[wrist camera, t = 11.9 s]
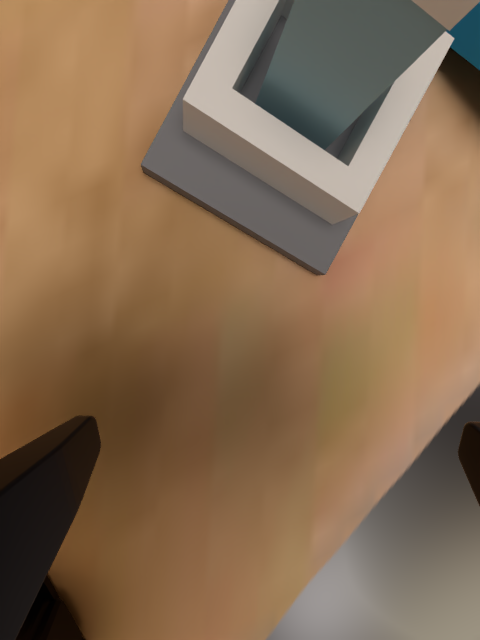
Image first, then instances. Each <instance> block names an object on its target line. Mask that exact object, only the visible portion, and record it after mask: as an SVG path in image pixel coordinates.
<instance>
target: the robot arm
mask: <svg viewBox="0 0 480 640" xmlns="http://www.w3.org/2000/svg"><path fill="white" fill-rule="evenodd" d="M100 448H101V441H100V436H99V432H98V427H97V422H96V419H95V418H94V417H93V416H76V417H74V418H72V419H70V420H69V421H67V422H65V423H63V424H62V425H60V426H58V427H56V428H54V429H53V430H51V431H49V432H47V433H46V434H44V435H42V436H40V437H39V438H37V439H35V440H33V441H31V442H30V443H28V444H26V445H24V446H23V447H21V448H19V449H17V450H16V451H14V452H12V453H10V454H9V455H7V456H5V457H3V458H1V459H0V640H84V639H83V637H82V634H81V632H80V630H79V628H78V627H77V625H76V623H75V621H74V620H73V618H72V616H71V615H70V613H69V611H68V609H67V608H66V606H65V604H64V603H63V601H62V600H60V598H59V596H58V595H57V593H56V591H55V589H54V588H53V586H52V584H51V583H50V581H49V579H48V577H47V576H46V575H47V573H48V571H49V569H50V567H51V565H52V563H53V561H54V559H55V557H56V555H57V553H58V551H59V549H60V546H61V544H62V542H63V540H64V538H65V536H66V534H67V532H68V530H69V528H70V526H71V524H72V522H73V520H74V518H75V515H76V513H77V511H78V509H79V506H80V504H81V501H82V499H83V496H84V493H85V490H86V488H87V485H88V482H89V479H90V477H91V474H92V471H93V469H94V466H95V463H96V460H97V458H98V455H99V452H100ZM458 456H459V460H460V462H461V465H462V467H463V469H464V471H465V474H466V476H467V478H468V481H469V483H470V485H471V488H472V490H473V492H474V494H475V497H476V499H477V501H478V503H479V506H480V422H468V423H466V424H465V426H464V429H463V432H462V436H461V440H460V445H459V449H458Z"/></svg>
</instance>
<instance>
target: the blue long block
mask: <svg viewBox="0 0 480 640" xmlns="http://www.w3.org/2000/svg"><path fill="white" fill-rule="evenodd" d="M446 32H447V33H448V34H450V35H451V36H452V37H453V38H454V40H453V42H452V44H451V46H450V48H452V49H453V50H454V51H456V52H457V53H458V54H459V55H461V56H462V57H463V58H465V59H466V60H467V61H468V62H470V63H471V64H472V65H473V66H475V67H476V68H477V69H479V70H480V2H479V3H478V4H477V5H476V6H475V7H474V8H473V9H472V10H471V11H469V12H468V13H467V14H466V15H465V16H464V17H463V18H462V19H461V20H460V21H459V22H458V23H457V24H456V25H455V26H454V27H453V28H452V29H451V30H450V31H449V30H446Z"/></svg>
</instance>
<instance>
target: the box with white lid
mask: <svg viewBox="0 0 480 640" xmlns="http://www.w3.org/2000/svg"><path fill="white" fill-rule="evenodd" d="M479 2H480V0H294V3H293V6H292V8H291V11H290V13H289V16H288V19H287V21H286V24H285V27H284V29H283V32H282V34H281V37H280V40H279V42H278V45H277V48H276V50H275V53H274V55H273V58H272V61H271V63H270V66H269V69H268V71H267V74H266V76H265V79H264V82H263V84H262V87H261V89H260V92H259V95H258V97H257V100H256V103H255V104H256V105H258V106H259V107H261V108H262V109H264V110H265V111H267V112H268V113H270V114H271V115H273V116H274V117H276V118H277V119H279V120H280V121H282V122H283V123H285V124H286V125H287V126H289V127H290V128H292V129H293V130H295V131H296V132H298V133H299V134H301V135H302V136H304V137H305V138H307V139H308V140H310V141H311V142H313V143H314V144H316V145H317V146H319V147H320V148H322V149H323V150H325V149H326V148H327V147H328V146H329V145H330V144H331V143H332V142H333V141H334V140H335V139H336V138H337V137H338V136H339V135H340V134H341V133H342V132H343V131H344V130H345V129H346V128H348V127H349V126H350V125H351V124H352V123H353V122H354V121H355V120H356V119H357V118H358V117H359V116H360V115H361V114H362V113H363V112H364V111H365V110H366V109H367V108H368V107H369V106H370V105H371V104H372V103H373V102H374V101H375V100H376V99H377V98H378V97H379V96H380V95H381V94H382V93H383V92H384V91H385V90H386V89H387V88H388V87H389V86H390V85H391V84H392V83H393V82H394V81H395V80H396V79H397V78H398V77H399V76H401V75H402V74H403V73H404V72H405V71H406V70H407V69H408V68H409V67H410V66H411V65H412V64H413V63H414V62H415V61H416V60H417V59H418V58H419V57H420V56H421V55H422V54H423V53H424V52H425V51H426V50H427V49H428V48H429V47H430V46H431V45H432V44H433V43H434V42H435V41H436V40H437V39H438V38H439V37H440V36H441V35H442V34H443V33H444V32H445V31H446V30H449V31H450V30H451V29H452V28H453V27H454V26H455V25H456V24H457V23H458V22H459V21H460V20H461V19H462V18H463V17H464V16H465V15H466V14H467V13H468V12H469V11H471V10H472V9H473V8H474V7H475V6H476V5H477V4H478V3H479Z"/></svg>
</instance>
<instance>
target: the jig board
mask: <svg viewBox="0 0 480 640" xmlns="http://www.w3.org/2000/svg"><path fill="white" fill-rule="evenodd" d="M293 3H294V0H229V1H228V3H227V4H226V6H225V8H224V10H223V12H222V14H221V16H220V18H219V19H218V21H217V23H216V25H215V27H214V29H213V31H212V32H211V34H210V36H209V38H208V40H207V42H206V44H205V45H204V47H203V49H202V51H201V53H200V55H199V57H198V59H197V60H196V62H195V64H194V66H193V68H192V70H191V72H190V73H189V75H188V77H187V79H186V81H185V83H184V85H183V87H182V88H181V90H180V92H179V94H178V96H177V98H176V100H175V101H174V103H173V105H172V107H171V109H170V111H169V113H168V114H167V116H166V118H165V120H164V122H163V124H162V126H161V128H160V129H159V131H158V133H157V135H156V137H155V139H154V141H153V142H152V144H151V146H150V148H149V150H148V152H147V154H146V155H145V157H144V159H143V161H142V163H141V167H142V170H143V172H144V173H146V174H147V175H149V176H151V177H152V178H154V179H156V180H157V181H159V182H161V183H162V184H164V185H166V186H167V187H169V188H171V189H173V190H174V191H176V192H178V193H179V194H181V195H183V196H184V197H186V198H188V199H189V200H191V201H193V202H194V203H196V204H198V205H200V206H201V207H203V208H205V209H206V210H208V211H210V212H211V213H213V214H215V215H216V216H218V217H220V218H221V219H223V220H225V221H227V222H228V223H230V224H232V225H233V226H235V227H237V228H238V229H240V230H242V231H243V232H245V233H247V234H248V235H250V236H252V237H254V238H255V239H257V240H259V241H260V242H262V243H264V244H265V245H267V246H269V247H270V248H272V249H274V250H275V251H277V252H279V253H281V254H282V255H284V256H286V257H287V258H289V259H291V260H292V261H294V262H296V263H297V264H299V265H301V266H302V267H304V268H306V269H307V270H309V271H311V272H313V273H314V274H316V275H325V274H326V273H327V271H328V269H329V267H330V265H331V263H332V262H333V260H334V258H335V256H336V254H337V252H338V251H339V249H340V247H341V245H342V243H343V241H344V240H345V238H346V236H347V234H348V232H349V230H350V229H351V227H352V225H353V223H354V221H355V219H356V217H357V216H358V214H359V213H360V211H361V209H362V208H363V206H364V204H365V202H366V200H367V198H368V197H369V195H370V193H371V191H372V189H373V187H374V186H375V184H376V182H377V180H378V178H379V176H380V174H381V173H382V171H383V169H384V167H385V165H386V163H387V162H388V160H389V158H390V156H391V154H392V152H393V151H394V149H395V147H396V145H397V143H398V141H399V140H400V138H401V136H402V134H403V132H404V130H405V129H406V127H407V125H408V123H409V121H410V119H411V117H412V116H413V114H414V112H415V110H416V108H417V106H418V105H419V103H420V101H421V99H422V97H423V95H424V94H425V92H426V90H427V88H428V86H429V84H430V83H431V81H432V79H433V77H434V75H435V73H436V72H437V70H438V68H439V66H440V64H441V62H442V60H443V59H444V57H445V55H446V53H447V51H448V49H449V48H450V46H451V44H452V42H453V40H454V38H453V37H452V36H451V35H450V34H448V33H447V32H446V31H445V32H444V33H443V34H442V35H441V36H440V37H439V38H438V39H437V40H436V41H435V42H434V43H433V44H432V45H431V46H430V47H429V48H428V49H427V50H426V51H425V52H424V53H423V54H422V55H421V56H420V57H419V58H418V59H417V60H416V61H415V62H414V63H413V64H412V65H411V66H410V67H409V68H408V69H407V70H406V71H405V72H404V73H403V74H402V75H401V76H399V77H398V78H397V79H396V80H395V81H394V82H393V83H392V84H391V85H390V86H389V87H388V88H387V89H386V90H385V91H384V92H383V93H382V94H381V95H380V96H379V97H378V98H377V99H376V100H375V101H374V102H373V103H372V104H371V105H370V106H369V107H368V108H367V109H366V110H365V111H364V112H363V113H362V114H361V115H360V116H359V117H358V118H357V119H356V120H355V121H354V122H353V123H352V124H351V125H350V126H349V127H348V128H346V129H345V130H344V131H343V132H342V133H341V134H340V135H339V136H338V137H337V138H336V139H335V140H334V141H333V142H332V143H331V144H330V145H329V146H328V147H327V148H326V149H325V150H323V149H322V148H320V147H319V146H317V145H316V144H314V143H313V142H311V141H310V140H308V139H307V138H305V137H304V136H302V135H301V134H299V133H298V132H296V131H295V130H293V129H292V128H290V127H289V126H287V125H286V124H285V123H283V122H282V121H280V120H279V119H277V118H276V117H274V116H273V115H271V114H270V113H268V112H267V111H265V110H264V109H262V108H261V107H259V106H258V105H256V104H255V103H256V100H257V97H258V95H259V92H260V89H261V87H262V84H263V82H264V79H265V76H266V74H267V71H268V69H269V66H270V63H271V61H272V58H273V55H274V53H275V50H276V48H277V45H278V42H279V40H280V37H281V34H282V32H283V29H284V27H285V24H286V21H287V19H288V16H289V13H290V11H291V8H292V6H293Z"/></svg>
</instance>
